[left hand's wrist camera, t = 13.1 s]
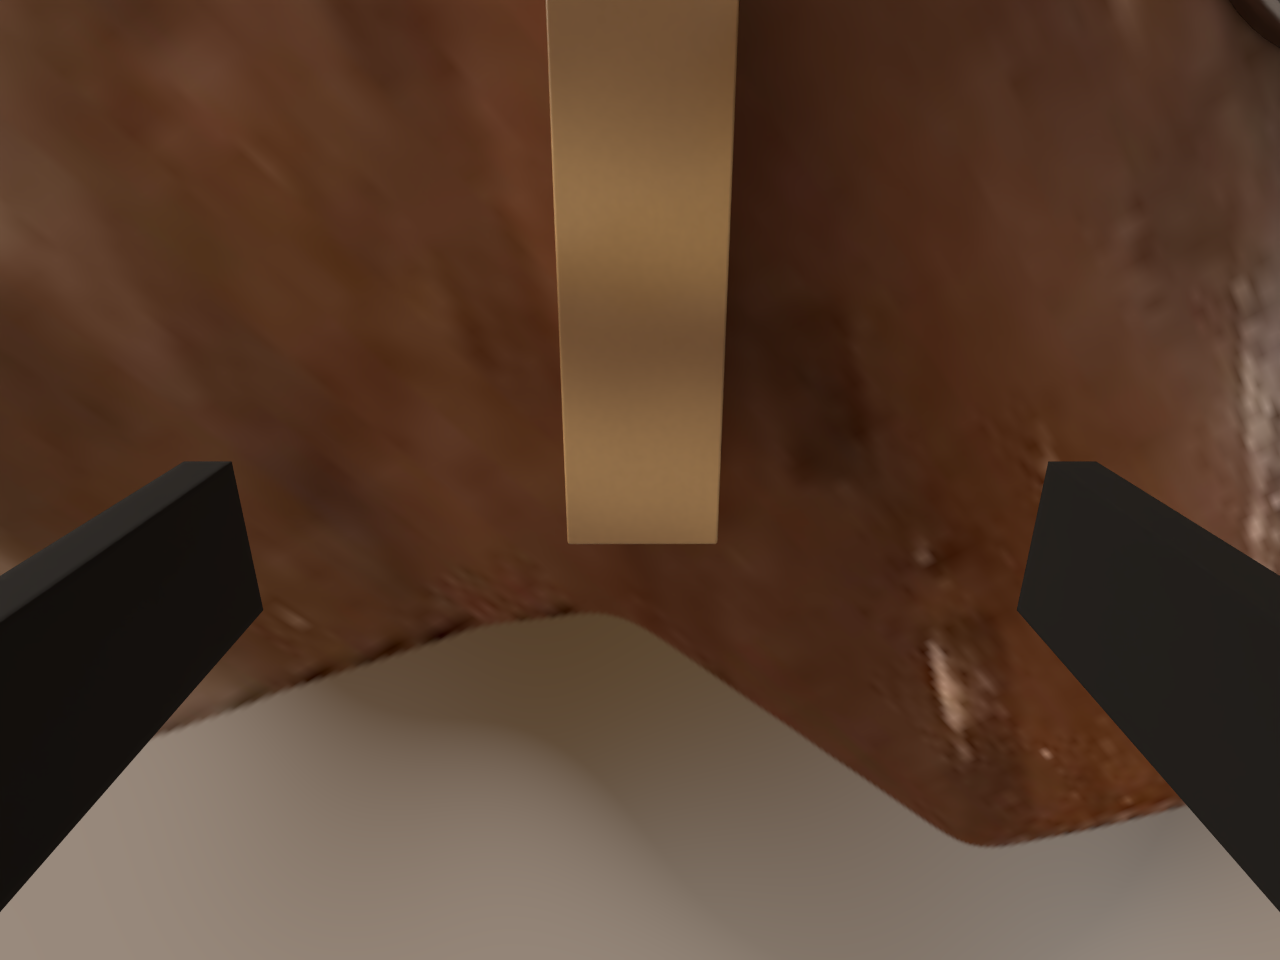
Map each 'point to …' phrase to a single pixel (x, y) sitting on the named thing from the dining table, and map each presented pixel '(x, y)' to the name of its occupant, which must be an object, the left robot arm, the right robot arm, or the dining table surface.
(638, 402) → the post
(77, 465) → the dining table surface
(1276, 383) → the dining table surface
